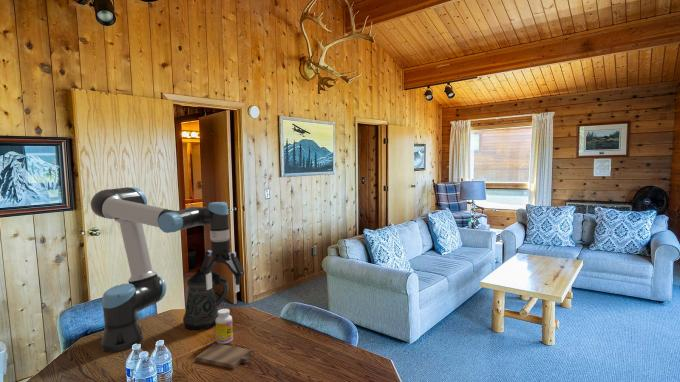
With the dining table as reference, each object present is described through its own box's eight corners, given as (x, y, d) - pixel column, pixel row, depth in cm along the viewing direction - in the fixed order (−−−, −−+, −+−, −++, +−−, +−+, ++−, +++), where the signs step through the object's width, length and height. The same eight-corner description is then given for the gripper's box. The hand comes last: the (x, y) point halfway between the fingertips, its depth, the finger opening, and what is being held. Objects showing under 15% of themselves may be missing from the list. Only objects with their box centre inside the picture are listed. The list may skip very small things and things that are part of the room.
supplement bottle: (228, 345, 150) (226, 314, 149) (213, 343, 151) (211, 313, 150) (236, 337, 157) (234, 308, 155) (221, 336, 158) (220, 307, 157)
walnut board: (196, 360, 139) (195, 357, 139) (215, 346, 149) (215, 343, 149) (239, 369, 132) (239, 365, 132) (256, 354, 142) (256, 350, 142)
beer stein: (178, 323, 172) (174, 270, 169) (217, 311, 185) (215, 262, 183) (191, 335, 159) (188, 278, 157) (233, 321, 173) (230, 269, 170)
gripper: (189, 240, 151) (192, 290, 153) (240, 243, 142) (243, 296, 144) (201, 236, 158) (204, 284, 160) (251, 239, 150) (253, 290, 151)
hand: (222, 290), depth 152 cm, fingers open, 13 cm apart
